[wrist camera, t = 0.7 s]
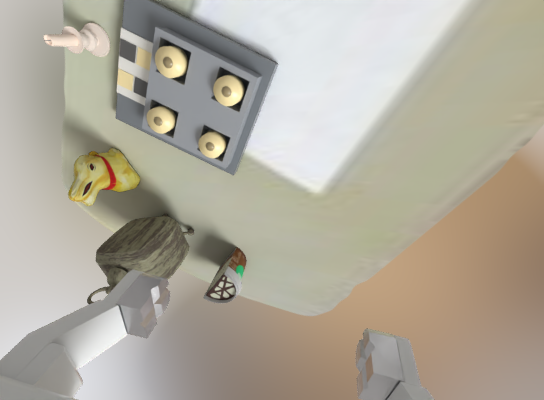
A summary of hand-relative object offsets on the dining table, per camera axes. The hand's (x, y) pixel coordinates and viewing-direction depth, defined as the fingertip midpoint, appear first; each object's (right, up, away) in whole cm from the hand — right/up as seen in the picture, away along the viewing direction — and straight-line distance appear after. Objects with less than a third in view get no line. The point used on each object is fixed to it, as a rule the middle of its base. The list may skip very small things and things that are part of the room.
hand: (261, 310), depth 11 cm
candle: (-31, +33, +38) cm, 59 cm away
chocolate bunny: (-34, +13, +51) cm, 62 cm away
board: (-14, +24, +39) cm, 48 cm away
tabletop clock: (-25, -1, +57) cm, 62 cm away
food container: (-8, -12, +59) cm, 61 cm away
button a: (-6, +23, +33) cm, 40 cm away
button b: (-10, +15, +38) cm, 42 cm away
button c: (-15, +27, +32) cm, 45 cm away
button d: (-19, +19, +38) cm, 47 cm away
